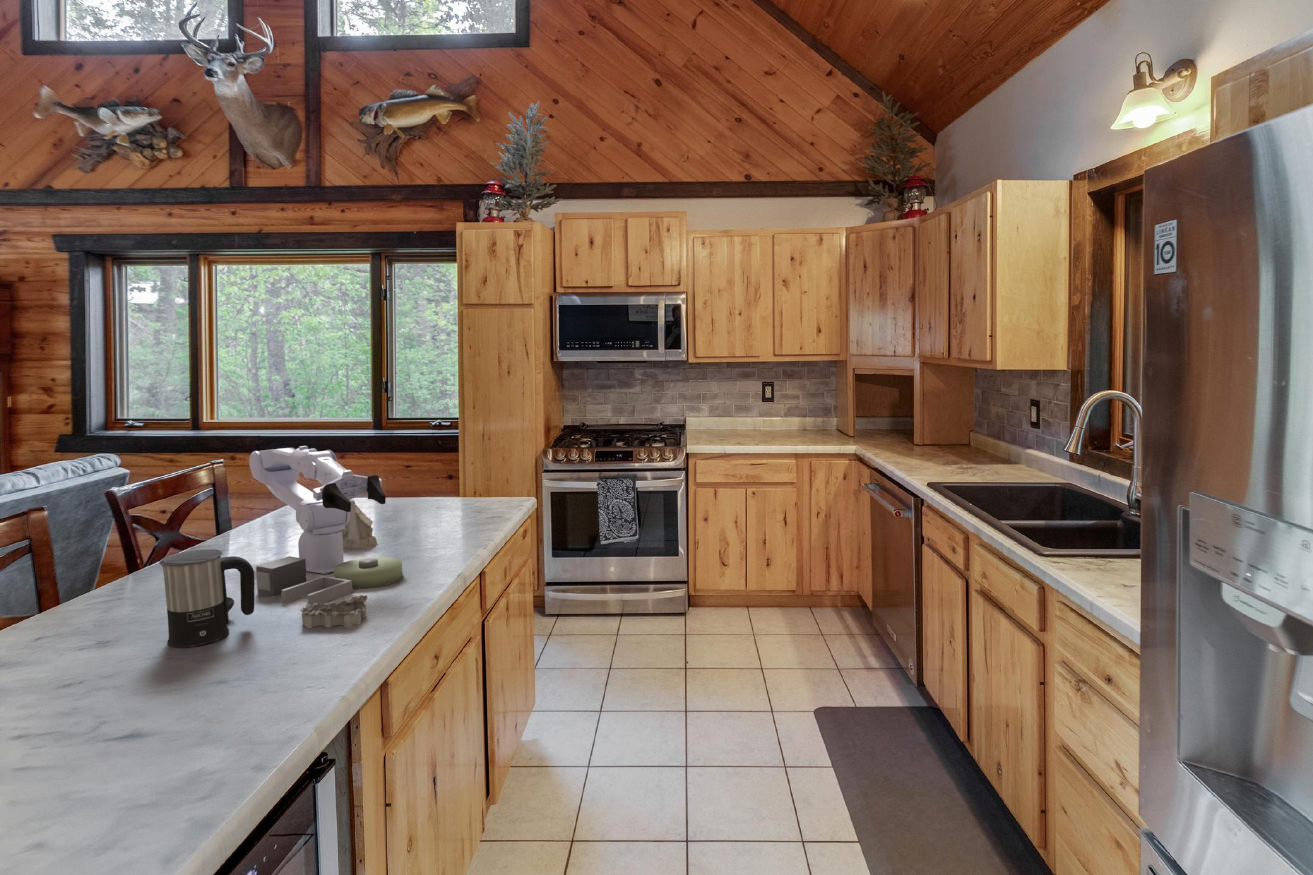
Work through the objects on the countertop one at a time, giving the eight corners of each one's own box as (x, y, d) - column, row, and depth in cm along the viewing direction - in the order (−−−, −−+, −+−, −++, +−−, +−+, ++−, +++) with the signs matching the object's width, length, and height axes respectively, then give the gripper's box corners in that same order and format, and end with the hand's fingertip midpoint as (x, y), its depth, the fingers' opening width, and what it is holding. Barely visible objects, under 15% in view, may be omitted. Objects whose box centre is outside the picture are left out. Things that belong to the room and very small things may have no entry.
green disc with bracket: (271, 600, 147) (270, 580, 146) (369, 566, 170) (368, 550, 170) (321, 609, 141) (320, 589, 141) (415, 573, 165) (415, 556, 164)
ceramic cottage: (367, 550, 184) (363, 491, 184) (303, 553, 184) (299, 494, 184) (390, 539, 200) (387, 484, 199) (331, 541, 200) (327, 487, 199)
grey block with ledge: (272, 597, 149) (270, 569, 148) (256, 594, 151) (254, 566, 150) (306, 585, 156) (305, 558, 156) (291, 583, 158) (289, 556, 158)
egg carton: (371, 615, 139) (370, 594, 139) (355, 629, 132) (354, 607, 131) (315, 614, 139) (314, 594, 139) (296, 629, 132) (295, 607, 131)
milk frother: (182, 653, 121) (176, 566, 119) (137, 634, 129) (131, 552, 128) (266, 626, 133) (261, 547, 131) (220, 610, 141) (215, 535, 140)
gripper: (304, 468, 155) (333, 493, 147) (368, 457, 166) (399, 480, 158) (303, 498, 158) (332, 524, 150) (367, 485, 168) (397, 509, 160)
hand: (367, 503), depth 154 cm, fingers open, 7 cm apart
